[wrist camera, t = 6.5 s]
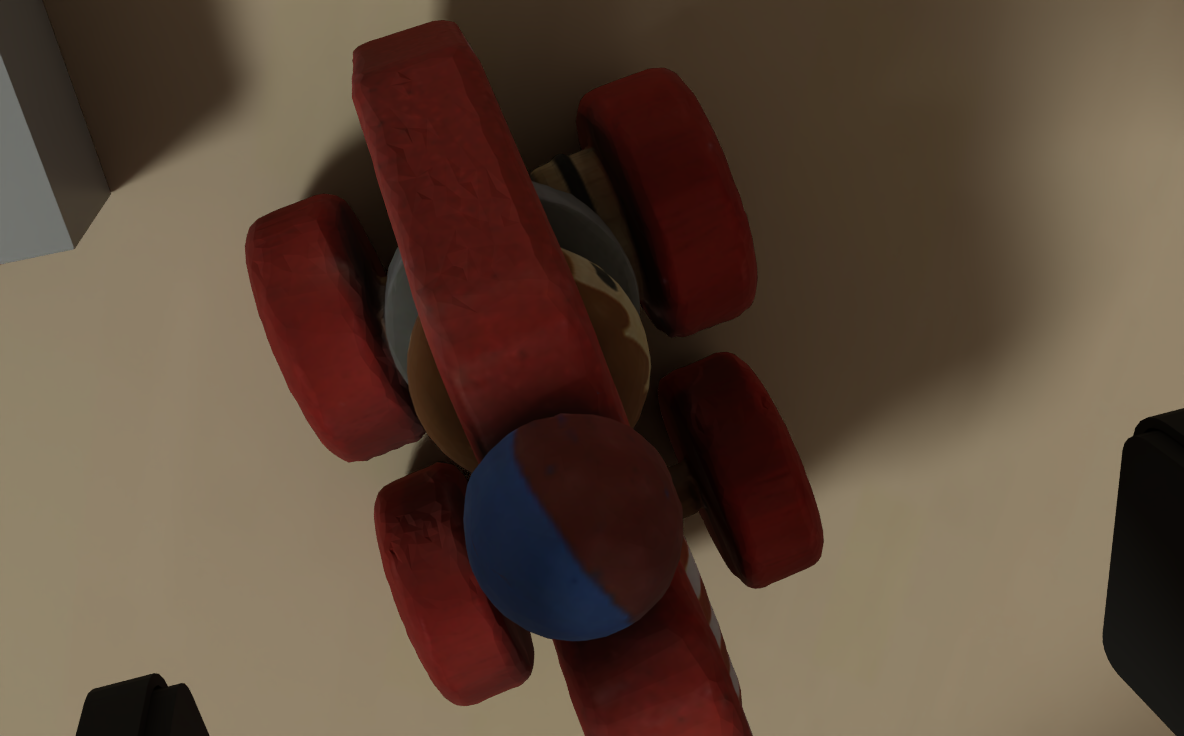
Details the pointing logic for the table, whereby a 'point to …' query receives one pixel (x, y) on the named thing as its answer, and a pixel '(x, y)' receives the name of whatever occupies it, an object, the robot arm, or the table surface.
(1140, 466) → the robot arm
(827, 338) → the table surface
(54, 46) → the grey shallow rectangular tray
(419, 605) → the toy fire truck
